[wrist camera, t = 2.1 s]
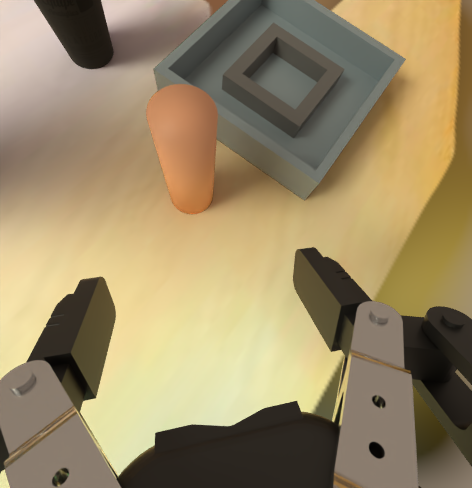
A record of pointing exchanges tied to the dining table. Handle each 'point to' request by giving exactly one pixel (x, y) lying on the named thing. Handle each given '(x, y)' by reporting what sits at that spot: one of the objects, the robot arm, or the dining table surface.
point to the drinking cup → (80, 30)
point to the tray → (283, 83)
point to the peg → (185, 143)
